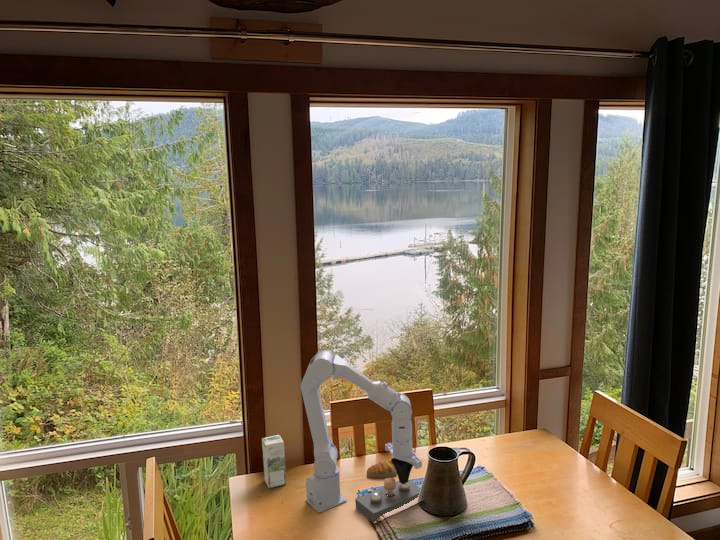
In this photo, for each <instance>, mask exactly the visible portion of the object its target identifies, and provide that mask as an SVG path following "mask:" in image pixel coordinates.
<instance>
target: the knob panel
mask: <svg viewBox="0 0 720 540" xmlns="http://www.w3.org/2000/svg"><path fill="white" fill-rule="evenodd" d="M398 481H399V480H397V481H395V483H396V488H395V489H394V490H393V497H388V496H387V495H388V490H386V489H385V488H384V486H382V487H381V488H378V489H376V490H375V491H380V492H381V493H382V501H381V502H380V503H377V504H374V503H372V502H371V501H370V493H371V492H369V493H366V494H364V495H361V496H359V497H356V498H355V499H354V501H355V509H356V510H357V511H358V512H359V513H360V514H362V516H364V517H365V518H366V519H367V520H369V521H370V522H371V523H373V522H375V521H376V520H377V519H378V518H379V517H380V516H382V515H383V514H385V513H387V512H390V511H392V510H394V509H397V508H399V507H401V506H403V505H404V504H407V503H409V502H410V501H412V500H414V499H415V498H417V497H418V495H419V492H420V489H422V488H421V487H420V486H418V485H417V484H416V483H413V482H412V481H410V480H409V479H408V481H409V487H410V489H409V490H408V491H404V492H403V491H400V490H399V488H398Z"/></svg>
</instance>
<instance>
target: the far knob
mask: <svg viewBox="0 0 720 540" xmlns="http://www.w3.org/2000/svg"><path fill="white" fill-rule="evenodd" d="M397 481H398V488H399V490H400V491H403V492H404V491H408V490H409V489H410V487H409V481H410V480H409V481H408V482H407V483H404V484H402V483H400V481H399V480H397Z"/></svg>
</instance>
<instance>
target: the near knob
mask: <svg viewBox="0 0 720 540" xmlns="http://www.w3.org/2000/svg"><path fill="white" fill-rule="evenodd" d="M369 493H370V501H371V502H372V503H374V504H377V503H380V502H381V501H382V493H381V492H380V491H376V490H372V491H370V492H369Z"/></svg>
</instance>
